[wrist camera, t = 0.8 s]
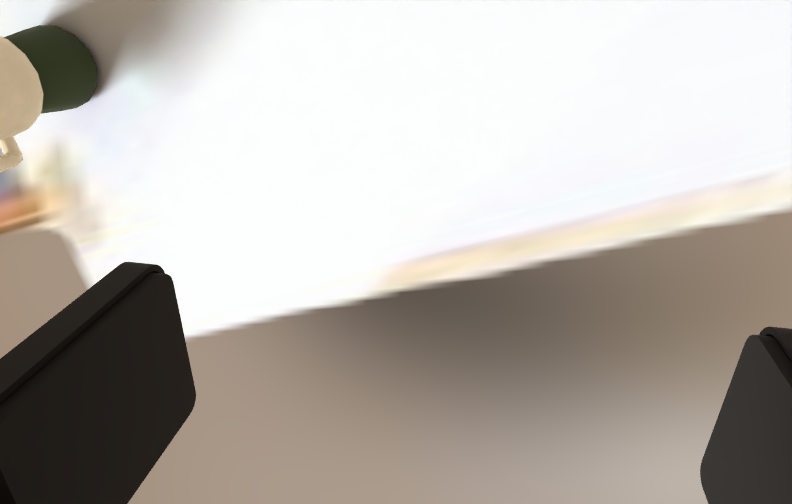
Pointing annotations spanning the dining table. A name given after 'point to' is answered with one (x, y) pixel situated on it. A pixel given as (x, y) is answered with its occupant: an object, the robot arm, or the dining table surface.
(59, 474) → the robot arm
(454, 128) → the dining table surface
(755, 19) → the dining table surface
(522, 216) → the dining table surface
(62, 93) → the character mug
